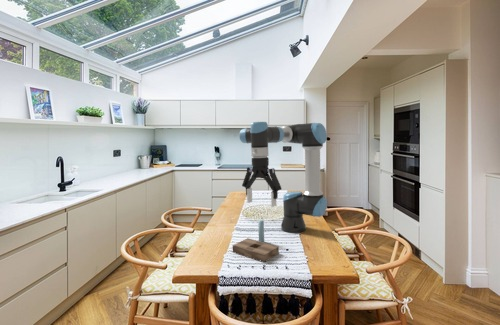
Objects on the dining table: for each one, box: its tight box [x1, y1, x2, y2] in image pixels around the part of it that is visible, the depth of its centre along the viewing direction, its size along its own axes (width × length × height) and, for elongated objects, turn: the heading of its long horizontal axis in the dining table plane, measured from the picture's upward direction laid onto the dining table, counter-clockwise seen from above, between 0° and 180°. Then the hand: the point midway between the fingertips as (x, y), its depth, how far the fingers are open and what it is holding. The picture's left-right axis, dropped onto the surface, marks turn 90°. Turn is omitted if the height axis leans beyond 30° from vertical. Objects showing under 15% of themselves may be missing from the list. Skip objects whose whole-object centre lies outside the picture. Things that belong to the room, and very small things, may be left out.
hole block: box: [232, 237, 280, 263], centre depth 139 cm, size 12×20×4 cm, turn 50°
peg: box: [257, 219, 265, 243], centre depth 152 cm, size 3×3×12 cm
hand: (261, 204), depth 125 cm, fingers open, 13 cm apart
